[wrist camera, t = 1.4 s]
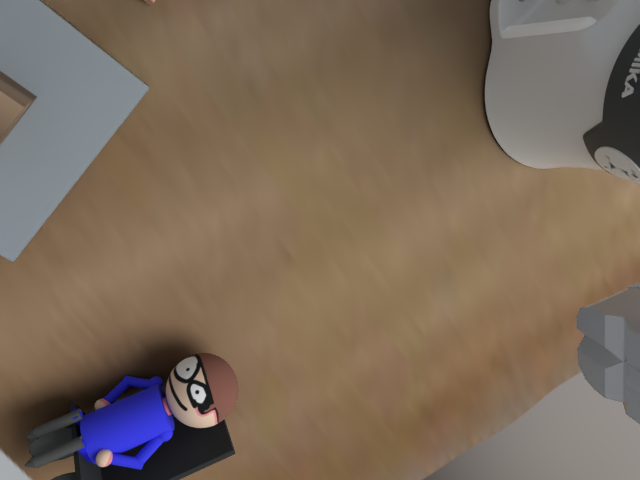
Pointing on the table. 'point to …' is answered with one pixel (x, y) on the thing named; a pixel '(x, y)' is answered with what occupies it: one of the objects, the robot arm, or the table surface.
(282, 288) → the table surface
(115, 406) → the character figurine
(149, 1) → the brick terracotta
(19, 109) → the brick walnut
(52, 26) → the board
